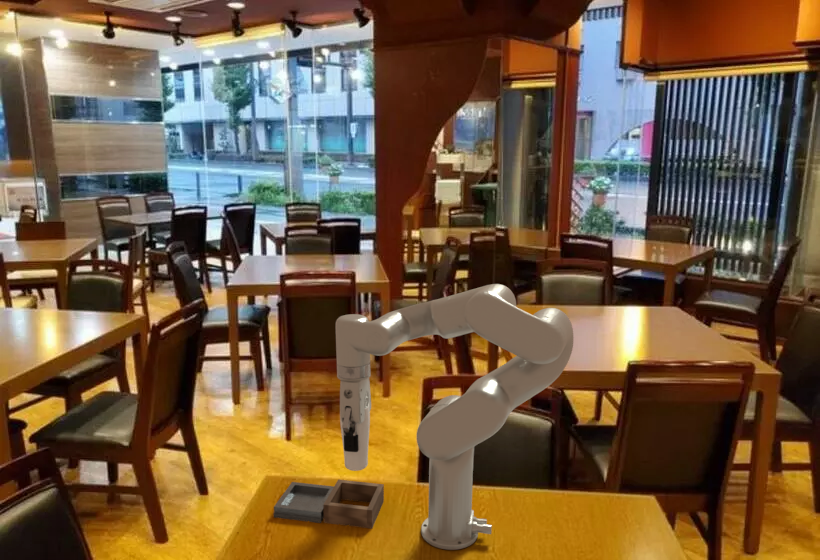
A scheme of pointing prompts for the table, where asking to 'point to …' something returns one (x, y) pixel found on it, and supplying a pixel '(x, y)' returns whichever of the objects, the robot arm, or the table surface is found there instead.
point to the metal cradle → (303, 502)
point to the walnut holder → (354, 513)
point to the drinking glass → (360, 458)
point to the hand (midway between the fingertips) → (355, 443)
